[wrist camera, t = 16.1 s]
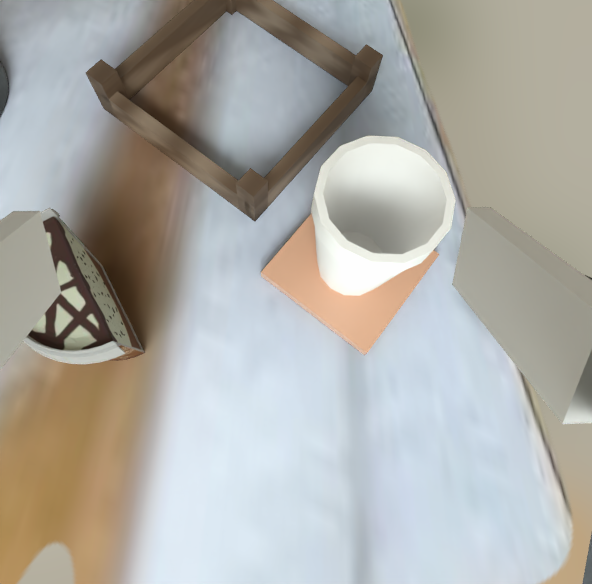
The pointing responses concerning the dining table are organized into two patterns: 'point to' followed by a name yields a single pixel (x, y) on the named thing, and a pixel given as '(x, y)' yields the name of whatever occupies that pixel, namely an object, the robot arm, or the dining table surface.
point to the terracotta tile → (331, 304)
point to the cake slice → (81, 306)
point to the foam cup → (378, 212)
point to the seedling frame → (178, 36)
